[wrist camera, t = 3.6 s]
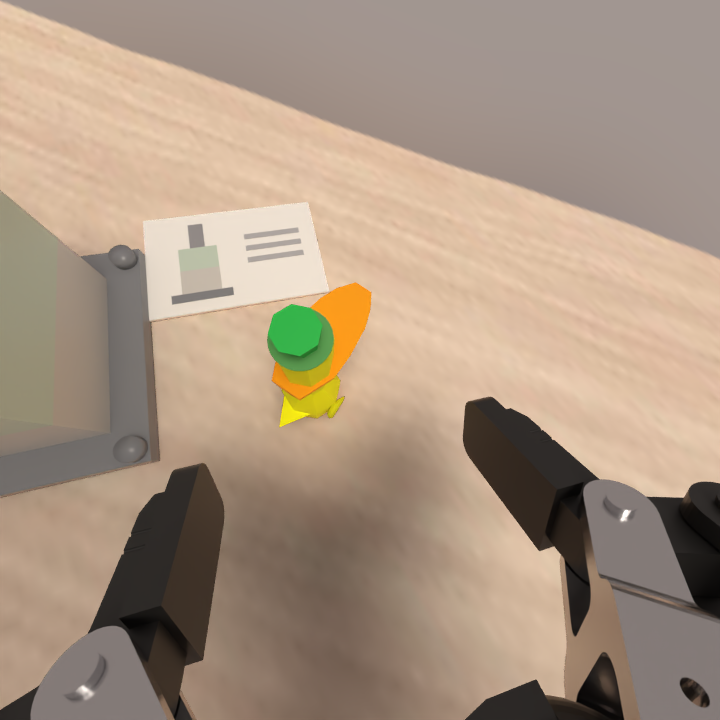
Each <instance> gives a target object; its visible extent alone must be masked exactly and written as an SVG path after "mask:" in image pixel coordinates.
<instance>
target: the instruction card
mask: <svg viewBox="0 0 720 720" xmlns="http://www.w3.org/2000/svg"><path fill="white" fill-rule="evenodd" d="M143 230H144V246H145V262H146V278H147V294H148V310H149V321H150V322H153V321H159V320H165V319H172V318H178V317H184V316H190V315H196V314H202V313H208V312H214V311H220V310H226V309H232V308H238V307H244V306H250V305H256V304H262V303H268V302H274V301H281V300H287V299H293V298H299V297H305V296H311V295H317V294H323V293H329V288H328V283H327V279H326V275H325V271H324V267H323V263H322V259H321V254H320V250H319V246H318V242H317V238H316V234H315V229H314V225H313V221H312V217H311V213H310V209H309V204H308V202H303V203H294V204H286V205H277V206H269V207H260V208H251V209H243V210H234V211H226V212H217V213H209V214H200V215H191V216H183V217H174V218H166V219H157V220H149V221H143Z"/></svg>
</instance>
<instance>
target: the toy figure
mask: <svg viewBox="0 0 720 720" xmlns="http://www.w3.org/2000/svg"><path fill="white" fill-rule="evenodd" d="M370 306H371V292H370V291H368V290H367V289H365V288H364V287H362V286H361V285H359V284H357V283H353V284H349V285H346V286H343V287H339V288H336V289H335V290H333V291H332V292H330V293H328V294H327V295H325V296H323V297H322V298H320V299H319V300H318V301H317V302H316V303H315V304H314V305H313V306H312V307H311V308H307V307H303V306H298V305H293V304H291V305H289V306H287V307H286V308H284V309H282V310H281V311H279V312H277V313H275V314H274V315H273V318H272V321H271V325H270V328H269V332H268V339H267V342H268V348H269V351H270V353H271V355H272V357H273V358H274V360H275V361H276V363H275V368H274V372H273V377H272V381H273V382H274V383H275V384H276V385H278V386H279V387H280V388H281V389H282V392H283V394H284V401H283V408H282V414H281V420H280V426H279V427H281V426H284V425H286V424H289V423H291V422H293V421H296V420H298V419H300V418H303V417H305V416H307V417H312V418H319V417H320V416H322V415H323V414H325V413H326V412H327V415H328V417H329V418H333V417H334V415H335V413H336V412H337V410H338V409H339V407H340V405H341V404H342V402H343V400H344V398H345V396H344V397H341V398H340V399H338V400H337V395H338V391H339V386H340V379H339V378H338V376H337V373H338V372H339V371H340V369H341V368H342V366H343V365H344V364H345V362H346V361H347V359H348V358H349V357H350V355H351V353H352V351H353V350H354V348H355V346H356V344H357V342H358V340H359V338H360V337H361V335H362V333H363V331H364V329H365V327H366V323H367V320H368V316H369V313H370ZM336 400H337V401H336Z"/></svg>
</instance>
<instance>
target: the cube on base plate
mask: <svg viewBox="0 0 720 720" xmlns="http://www.w3.org/2000/svg"><path fill="white" fill-rule="evenodd" d="M156 461H160V458H159V442H158V427H157V411H156V395H155V380H154V364H153V349H152V333H151V322H150V321H149V310H148V294H147V278H146V262H145V255H144V254H143V253H142V252H141V251H140V250H139V249H134V250H131V249H130V248H129V247H128V246H125V245H118V246H115V247H113V248H112V249H111V250H110V251H109V253H104V254H96V255H88V256H78V255H77V254H76V253H75V252H74V251H73V250H71V249H70V248H69V247H68V246H67V245H65V244H64V243H63V242H62V241H61V240H59V239H58V238H57V237H56V236H55V235H53V234H52V233H51V232H50V231H49V230H47V229H46V228H45V227H44V226H43V225H41V224H40V223H39V222H38V221H37V220H35V219H34V218H33V217H32V216H31V215H29V214H28V213H27V212H26V211H25V210H24V209H22V208H21V207H20V206H19V205H18V204H16V203H15V202H14V201H13V200H12V199H10V198H9V197H8V196H7V195H6V194H4V193H3V192H2V191H1V190H0V498H1V497H6V496H10V495H14V494H19V493H23V492H27V491H31V490H36V489H40V488H44V487H49V486H53V485H57V484H62V483H66V482H70V481H75V480H79V479H83V478H87V477H92V476H96V475H100V474H105V473H109V472H113V471H118V470H122V469H126V468H131V467H135V466H139V465H143V464H148V463H152V462H156Z"/></svg>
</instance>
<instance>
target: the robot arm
mask: <svg viewBox="0 0 720 720" xmlns="http://www.w3.org/2000/svg"><path fill="white" fill-rule="evenodd" d="M463 443H464V447H465V450H466V452H467V454H468V456H469V458H470V459H471V460H472V462H473V463H474V464H475V466H476V467H477V468H478V470H479V471H480V472H481V474H482V475H483V476H484V478H485V479H486V480H487V482H488V483H489V485H490V486H491V487H492V489H493V490H494V491H495V493H496V494H497V495H498V497H499V498H500V499H501V501H502V502H503V503H504V505H505V506H506V507H507V509H508V510H509V511H510V513H511V514H512V515H513V517H514V518H515V519H516V521H517V522H518V523H519V525H520V526H521V527H522V529H523V530H524V531H525V533H526V534H527V536H528V537H529V538H530V540H531V541H532V542H533V544H534V545H535V546H536V548H537V549H538V550H539V551H541V550H544V549H547V548H550V547H553V546H555V548H556V549H557V550H558V551H559V553H560V554H561V557H560V572H561V583H562V594H563V605H564V616H565V627H566V639H567V648H566V658H565V668H564V687H565V698H560V697H555V696H550V695H545V694H544V693H543V691H542V689H541V687H540V685H539V683H538V681H537V680H533V681H531V682H528V683H526V684H523V685H521V686H518V687H516V688H513V689H511V690H508V691H506V692H504V693H501V694H499V695H496V696H494V697H491V698H489V699H486V700H485V701H484V702H483V703H482V704H481V705H480V706H479V707H478V708H477V709H476V710H475V711H474V712H473V713H472V714H471V715H469V716H468V717H467V718H466V719H465V720H720V484H719V483H714V482H698V483H695V484H693V485H692V486H691V487H690V488H689V490H688V492H687V493H686V495H685V497H684V498H670V497H645V496H644V495H643V494H642V493H640V492H639V491H637V490H635V489H634V488H632V487H630V486H627V485H625V484H622V483H620V482H616V481H612V480H600V479H599V478H597V477H596V476H595V475H594V474H593V473H591V472H590V471H589V470H588V469H587V468H586V467H585V466H583V465H582V464H581V463H580V462H579V461H578V460H577V459H575V458H574V457H573V456H572V455H571V454H570V453H569V452H567V451H566V450H565V449H564V448H563V447H562V446H561V445H559V444H558V443H557V442H556V441H555V440H552V439H551V437H550V436H549V435H548V434H547V433H546V432H544V431H543V430H542V431H541V429H540V427H539V426H538V425H536V424H535V423H534V422H533V421H532V420H531V419H530V418H528V417H527V416H525V415H523V414H521V413H519V412H517V411H515V410H513V409H511V408H510V409H505V408H504V407H503V406H502V405H501V404H500V403H499V402H498V401H497V400H495V399H494V398H493V397H486V398H481V399H477V400H473V401H469V402H467V403H466V406H465V416H464V430H463ZM223 525H224V506H223V501H222V498H221V496H220V494H219V492H218V489H217V487H216V485H215V483H214V480H213V478H212V476H211V474H210V472H209V469H208V467H207V466H206V464H204V463H201V464H197V465H193V466H188V467H184V468H180V469H176V470H174V471H173V472H172V474H171V476H170V479H169V481H168V484H167V487H166V490H165V492H162V493H158V494H155V495H154V496H153V497H152V498H151V499H150V501H149V502H148V503H147V504H146V506H145V507H144V508H143V509H142V510H141V512H140V513H139V515H138V517H137V520H136V522H135V525H134V527H133V529H132V532H131V537H129V539H128V541H127V544H126V546H125V548H124V554H123V555H121V558H120V560H119V562H118V565H117V567H116V570H115V572H114V574H113V577H112V579H111V581H110V584H109V586H108V589H107V591H106V593H105V596H104V598H103V600H102V603H101V605H100V608H99V610H98V612H97V615H96V617H95V619H94V622H93V624H92V626H91V628H90V630H89V632H88V634H87V635H86V636H84V637H82V638H81V639H80V640H78V641H77V642H76V643H74V644H73V645H72V646H71V647H70V648H69V649H68V650H66V651H65V652H64V653H63V655H62V656H61V657H60V658H59V659H58V660H57V661H56V662H55V664H54V665H53V666H52V667H51V669H50V670H49V671H48V673H47V674H46V676H45V677H44V679H43V681H42V683H41V684H40V685H39V686H38V687H36V688H35V689H33V690H32V691H30V692H29V693H27V694H25V695H24V696H22V697H21V698H19V699H17V700H16V701H14V702H12V703H11V704H9V705H8V706H6V707H4V708H3V709H1V710H0V720H197V719H196V718H195V716H194V714H193V712H192V710H191V708H190V706H189V704H188V702H187V700H186V698H185V697H184V695H183V693H182V691H181V690H180V688H181V683H182V678H183V672H184V667H185V666H186V665H189V664H192V663H195V662H198V661H201V660H203V657H204V650H205V643H206V637H207V630H208V624H209V617H210V610H211V604H212V597H213V591H214V584H215V577H216V571H217V564H218V558H219V551H220V544H221V538H222V531H223Z"/></svg>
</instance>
